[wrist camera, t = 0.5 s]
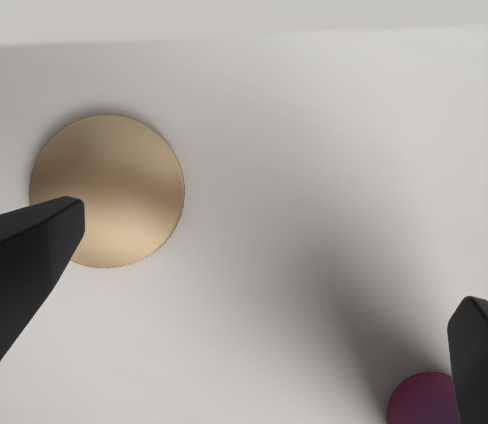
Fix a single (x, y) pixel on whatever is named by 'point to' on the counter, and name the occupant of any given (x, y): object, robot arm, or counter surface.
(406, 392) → the cup
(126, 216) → the coaster
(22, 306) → the robot arm
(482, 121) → the counter surface
